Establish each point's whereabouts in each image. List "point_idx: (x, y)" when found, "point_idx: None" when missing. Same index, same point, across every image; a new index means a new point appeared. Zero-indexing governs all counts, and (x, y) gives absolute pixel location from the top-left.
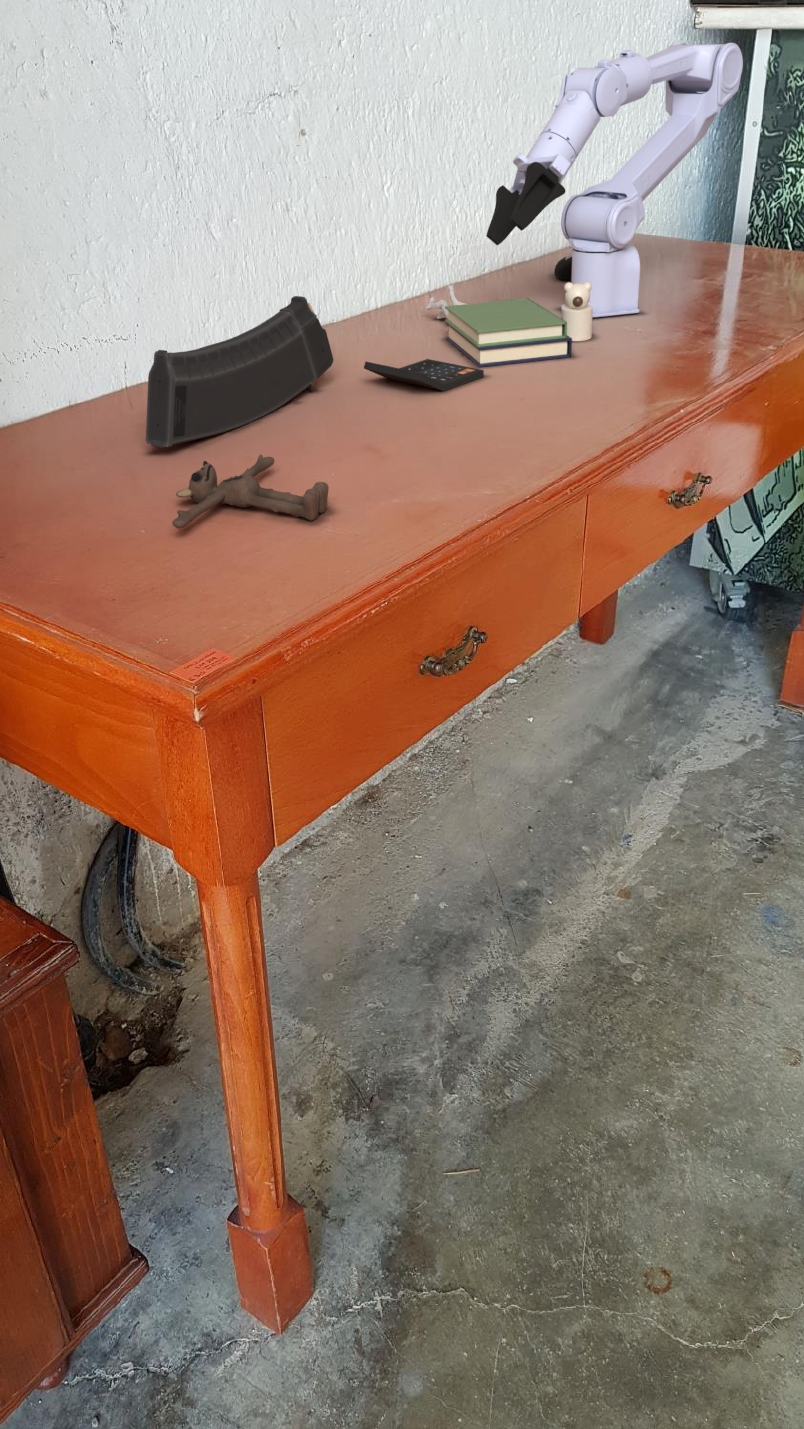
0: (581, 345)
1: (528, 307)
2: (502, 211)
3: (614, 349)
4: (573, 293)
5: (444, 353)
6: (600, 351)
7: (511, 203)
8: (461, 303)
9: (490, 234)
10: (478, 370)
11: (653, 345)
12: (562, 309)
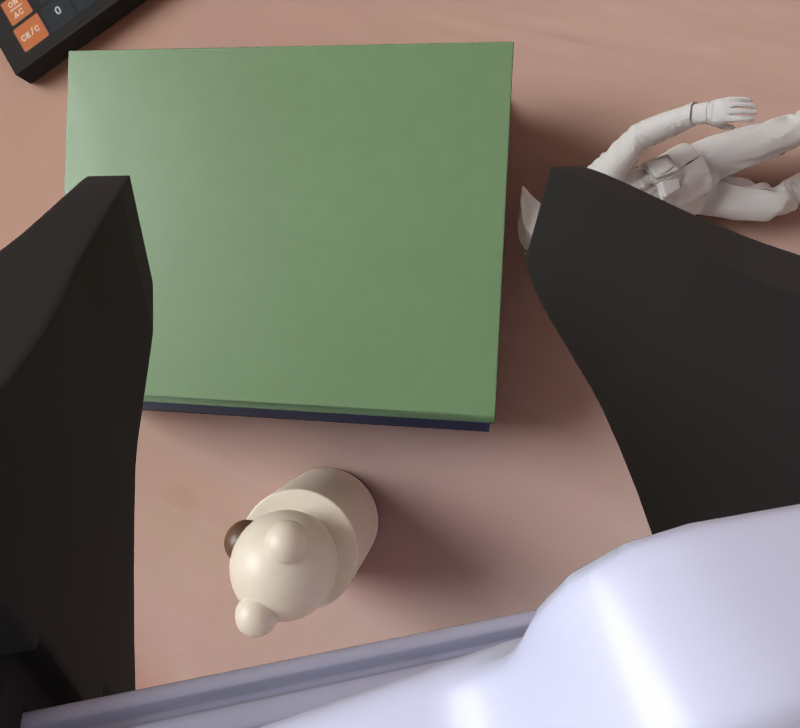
0: (232, 491)
1: (330, 357)
2: (676, 301)
3: (147, 559)
4: (244, 535)
5: (328, 44)
6: (144, 510)
7: (738, 417)
8: (613, 154)
9: (553, 187)
10: (17, 59)
11: (140, 687)
12: (301, 488)
